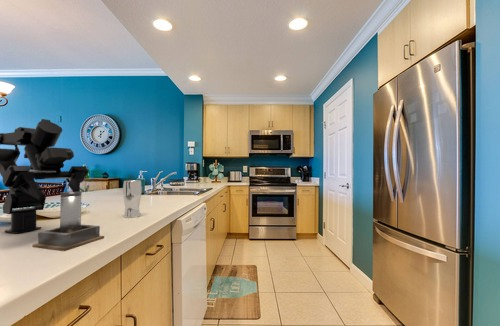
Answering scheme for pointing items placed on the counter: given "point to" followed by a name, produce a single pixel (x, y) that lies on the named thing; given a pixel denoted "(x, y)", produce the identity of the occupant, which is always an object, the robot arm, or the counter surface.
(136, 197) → the beer glass
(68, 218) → the brushed metal canister
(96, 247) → the counter surface
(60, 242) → the socket
